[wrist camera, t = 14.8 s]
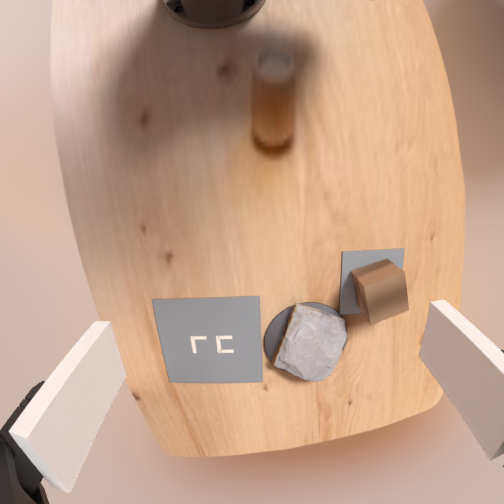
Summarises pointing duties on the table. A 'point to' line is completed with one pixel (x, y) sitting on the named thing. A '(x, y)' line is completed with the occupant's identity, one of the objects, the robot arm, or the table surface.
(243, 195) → the table surface
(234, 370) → the tile
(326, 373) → the stone
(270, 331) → the coaster
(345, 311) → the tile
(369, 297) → the walnut block
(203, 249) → the table surface
